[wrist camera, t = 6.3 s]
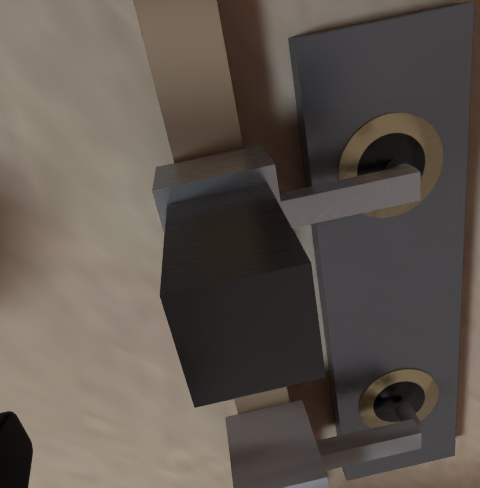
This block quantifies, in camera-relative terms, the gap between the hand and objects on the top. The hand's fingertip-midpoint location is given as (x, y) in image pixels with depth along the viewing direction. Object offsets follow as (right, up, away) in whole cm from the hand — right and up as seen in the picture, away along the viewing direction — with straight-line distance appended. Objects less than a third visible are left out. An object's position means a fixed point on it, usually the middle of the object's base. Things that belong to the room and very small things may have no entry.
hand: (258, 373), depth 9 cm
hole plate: (+6, 0, +12) cm, 14 cm away
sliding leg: (+1, +4, +8) cm, 9 cm away
